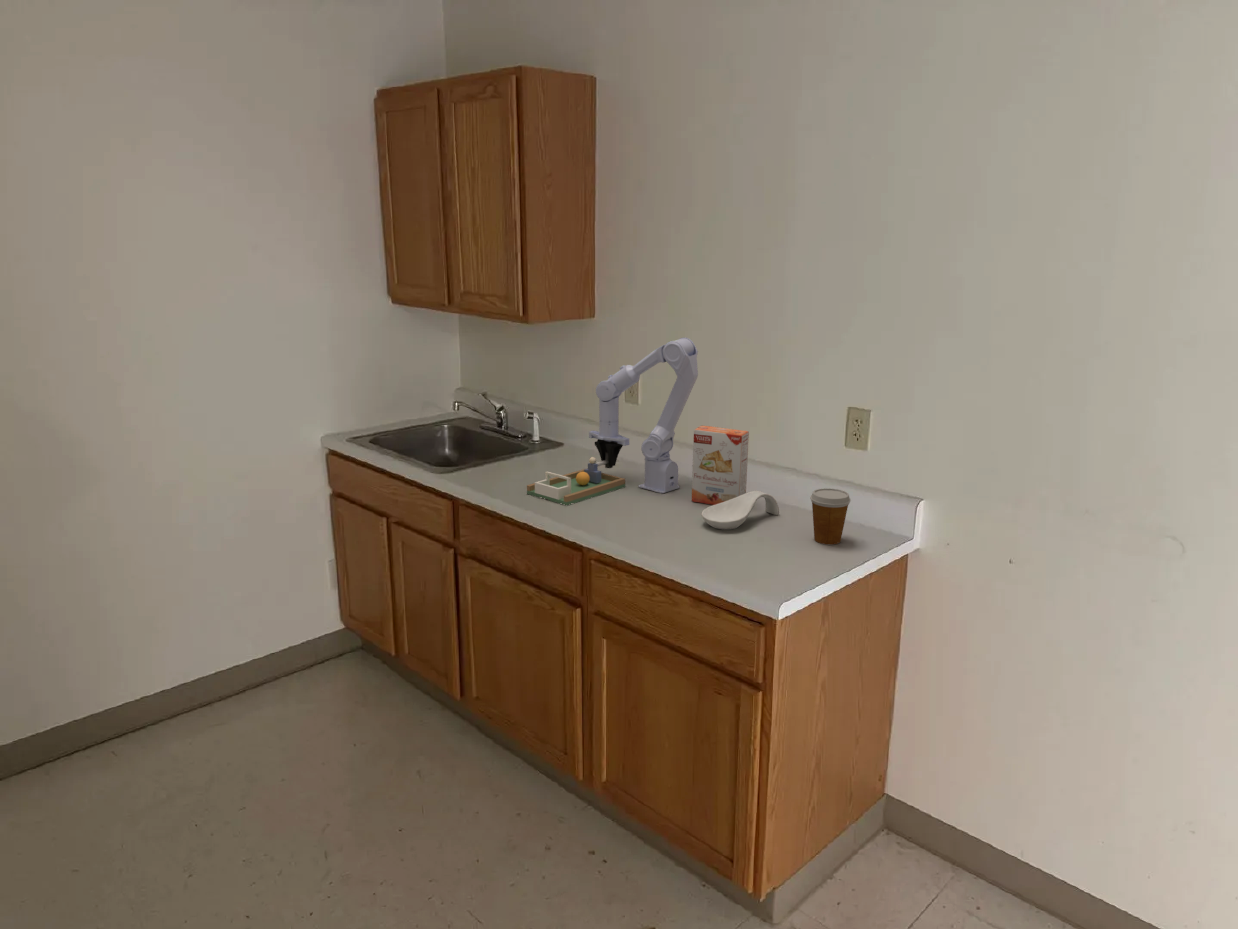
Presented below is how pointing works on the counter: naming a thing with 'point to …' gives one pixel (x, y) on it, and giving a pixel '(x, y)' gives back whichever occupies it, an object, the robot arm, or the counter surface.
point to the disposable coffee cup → (829, 514)
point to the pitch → (573, 487)
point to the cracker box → (719, 464)
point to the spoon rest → (737, 510)
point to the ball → (582, 478)
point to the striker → (596, 468)
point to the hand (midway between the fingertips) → (608, 465)
